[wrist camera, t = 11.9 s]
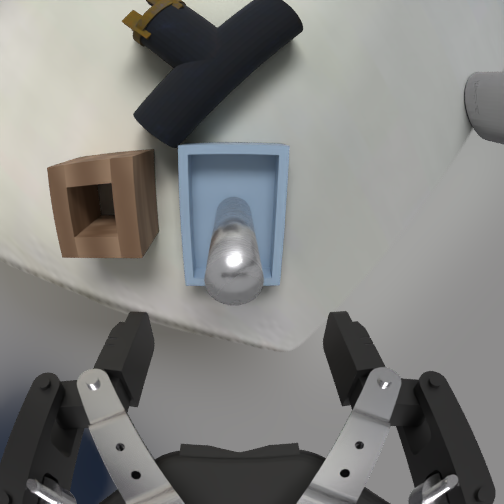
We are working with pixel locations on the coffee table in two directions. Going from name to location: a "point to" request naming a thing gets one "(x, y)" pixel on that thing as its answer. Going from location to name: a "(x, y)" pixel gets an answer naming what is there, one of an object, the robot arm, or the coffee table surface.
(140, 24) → the pipe connector
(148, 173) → the pin block
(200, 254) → the tray
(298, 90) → the coffee table surface
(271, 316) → the coffee table surface
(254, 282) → the pin
